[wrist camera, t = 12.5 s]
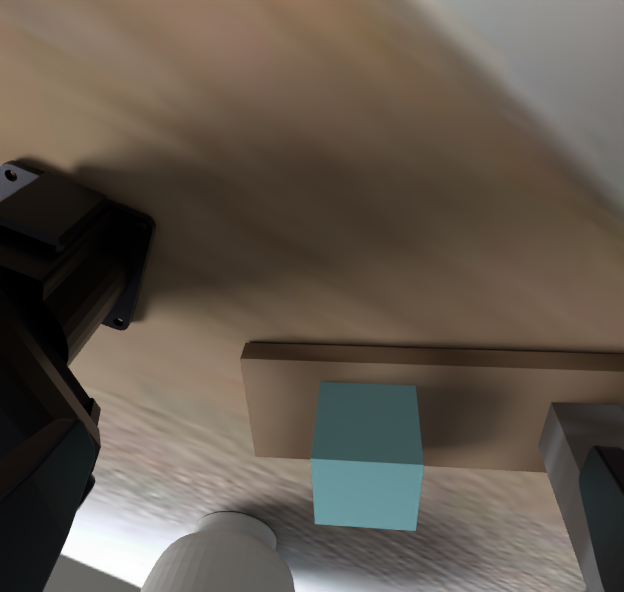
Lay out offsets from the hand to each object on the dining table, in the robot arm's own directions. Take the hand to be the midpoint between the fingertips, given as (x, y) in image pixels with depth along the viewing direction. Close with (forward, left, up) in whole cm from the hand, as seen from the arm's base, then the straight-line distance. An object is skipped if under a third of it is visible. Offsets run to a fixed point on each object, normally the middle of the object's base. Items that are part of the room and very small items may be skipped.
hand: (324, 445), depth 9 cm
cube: (-10, -6, -12) cm, 17 cm away
